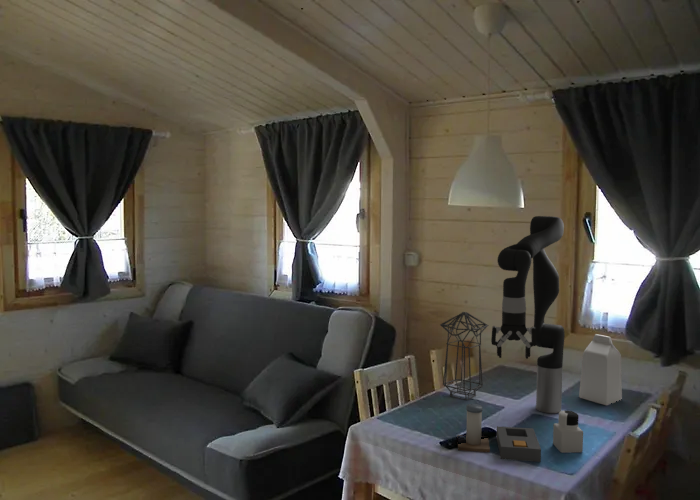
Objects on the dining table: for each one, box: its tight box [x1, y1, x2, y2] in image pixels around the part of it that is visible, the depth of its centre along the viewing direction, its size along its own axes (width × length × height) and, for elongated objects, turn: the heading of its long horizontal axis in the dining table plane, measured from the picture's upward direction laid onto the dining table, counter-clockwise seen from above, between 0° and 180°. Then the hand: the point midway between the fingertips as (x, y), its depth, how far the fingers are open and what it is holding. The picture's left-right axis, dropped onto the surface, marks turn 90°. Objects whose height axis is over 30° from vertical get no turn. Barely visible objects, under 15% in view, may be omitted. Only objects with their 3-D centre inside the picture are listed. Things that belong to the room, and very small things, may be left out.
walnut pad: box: [457, 434, 491, 453], centre depth 196 cm, size 10×10×1 cm
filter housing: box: [495, 425, 542, 463], centre depth 193 cm, size 17×12×4 cm
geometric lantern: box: [439, 311, 489, 401], centre depth 245 cm, size 16×16×35 cm
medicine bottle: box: [552, 410, 584, 454], centre depth 193 cm, size 7×7×12 cm
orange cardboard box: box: [513, 440, 527, 447], centre depth 187 cm, size 4×4×4 cm
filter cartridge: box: [465, 403, 484, 445], centre depth 195 cm, size 5×5×12 cm
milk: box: [578, 333, 623, 406], centre depth 241 cm, size 12×12×26 cm
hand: (513, 357), depth 198 cm, fingers open, 8 cm apart
